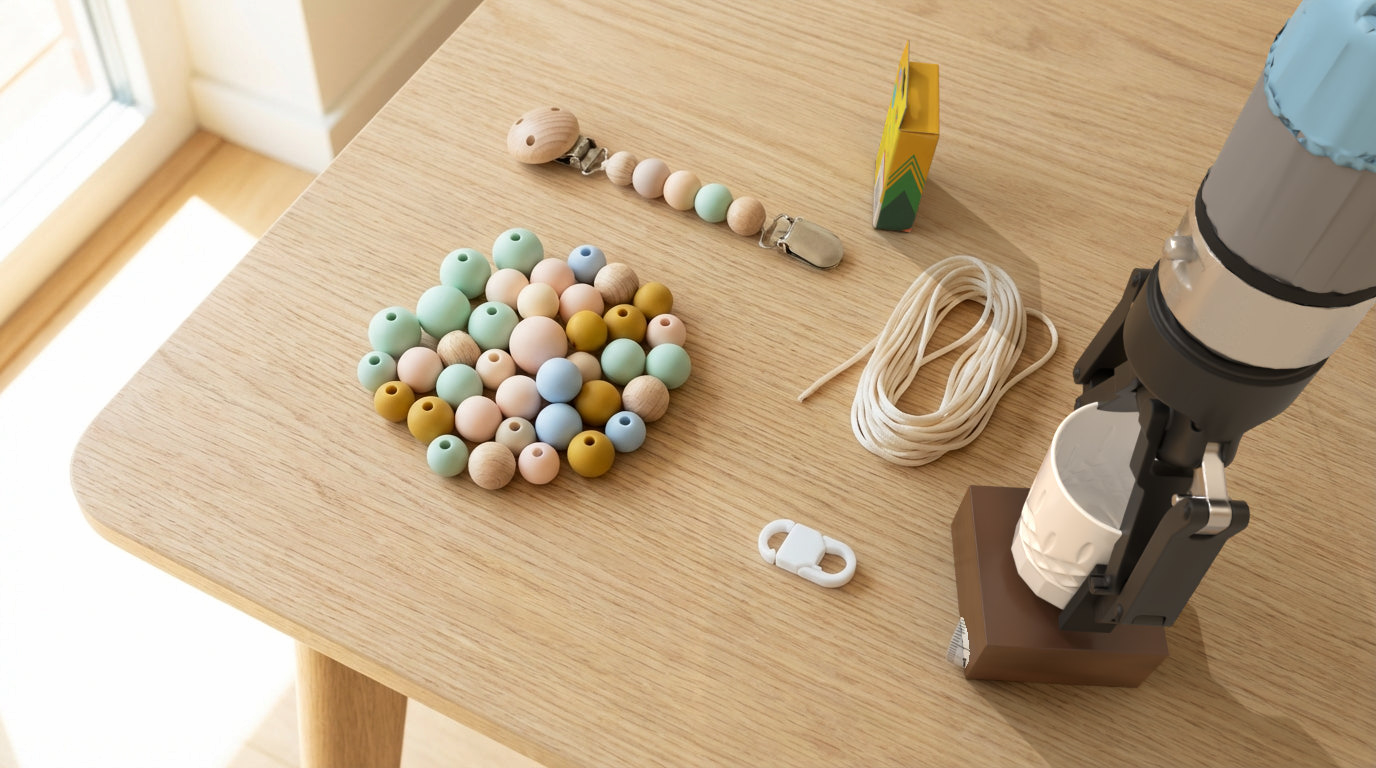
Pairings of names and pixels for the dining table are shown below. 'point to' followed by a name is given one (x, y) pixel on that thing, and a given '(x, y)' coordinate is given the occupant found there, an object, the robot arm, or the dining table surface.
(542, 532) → the dining table surface
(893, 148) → the crayon box
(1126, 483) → the white cup
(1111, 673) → the walnut riser
